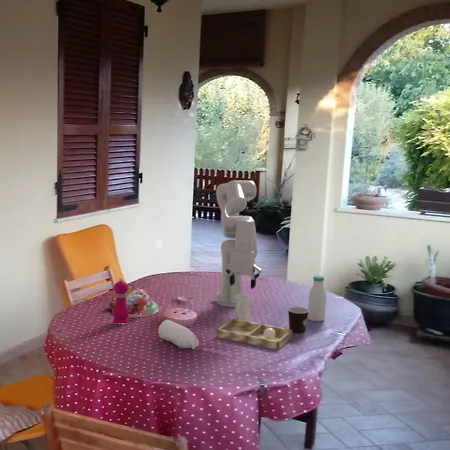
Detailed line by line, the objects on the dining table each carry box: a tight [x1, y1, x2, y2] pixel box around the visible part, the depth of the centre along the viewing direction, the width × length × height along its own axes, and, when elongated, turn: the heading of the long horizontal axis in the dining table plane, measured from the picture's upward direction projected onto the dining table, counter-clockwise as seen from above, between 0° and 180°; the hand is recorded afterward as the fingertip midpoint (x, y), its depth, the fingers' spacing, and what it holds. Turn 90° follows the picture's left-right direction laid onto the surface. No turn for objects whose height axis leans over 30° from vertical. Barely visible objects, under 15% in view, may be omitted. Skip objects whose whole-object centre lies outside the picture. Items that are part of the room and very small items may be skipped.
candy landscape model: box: [107, 285, 162, 317], centre depth 273 cm, size 25×24×9 cm
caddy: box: [216, 317, 293, 351], centre depth 242 cm, size 27×16×4 cm, turn 65°
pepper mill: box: [112, 277, 129, 324], centre depth 253 cm, size 7×7×20 cm
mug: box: [234, 293, 252, 322], centre depth 258 cm, size 10×7×12 cm, turn 158°
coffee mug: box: [287, 306, 309, 335], centre depth 251 cm, size 12×9×10 cm
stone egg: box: [264, 328, 276, 340], centre depth 239 cm, size 5×5×5 cm
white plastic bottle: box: [157, 319, 200, 350], centre depth 231 cm, size 8×19×8 cm, turn 42°
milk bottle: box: [307, 275, 327, 322], centre depth 267 cm, size 8×8×20 cm
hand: (242, 286), depth 255 cm, fingers open, 9 cm apart
